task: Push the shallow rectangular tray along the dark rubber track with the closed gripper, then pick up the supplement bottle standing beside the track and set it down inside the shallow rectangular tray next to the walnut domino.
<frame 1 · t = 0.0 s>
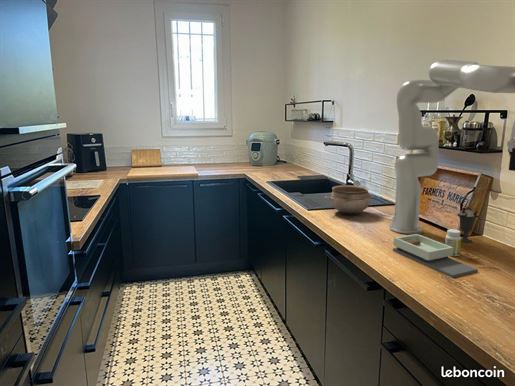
supplement bottle: (451, 254, 132), on the worktop
cooking pot: (349, 213, 186), on the worktop
sundae: (464, 241, 145), on the worktop
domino: (412, 244, 134), point 3 cm above the worktop, touching shallow rectangular tray
track: (432, 260, 126), on the worktop
shallow rectangular tray: (422, 247, 130), point 3 cm above the worktop, slide at 0.0 cm, touching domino
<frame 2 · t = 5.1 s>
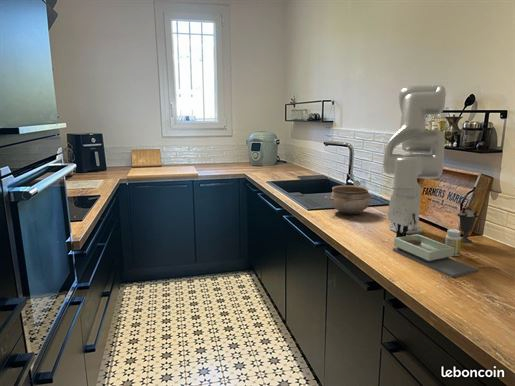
hand: (400, 241, 139), 2 cm above the worktop, tool pointing down, fingers closed
shallow rectangular tray: (422, 248, 130), point 3 cm above the worktop, slide at 0.3 cm, touching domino, gripper
everything else where it was.
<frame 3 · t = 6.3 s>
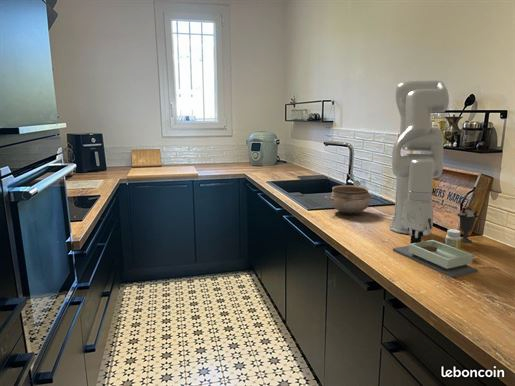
hand: (415, 247, 133), 2 cm above the worktop, tool pointing down, fingers closed
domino: (428, 251, 128), point 3 cm above the worktop, touching shallow rectangular tray
shallow rectangular tray: (439, 254, 123), point 3 cm above the worktop, slide at 7.1 cm, touching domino, gripper
everything else where it was.
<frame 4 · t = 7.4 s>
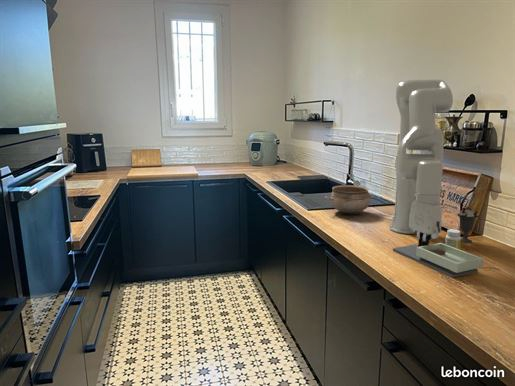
hand: (423, 250, 130), 2 cm above the worktop, tool pointing down, fingers closed
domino: (436, 254, 125), point 3 cm above the worktop, touching shallow rectangular tray
shallow rectangular tray: (448, 258, 120), point 3 cm above the worktop, slide at 10.5 cm, touching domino
everything else where it was.
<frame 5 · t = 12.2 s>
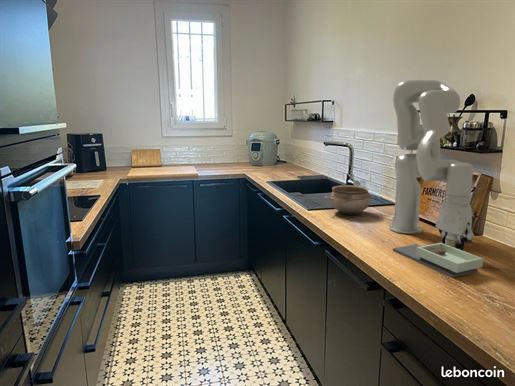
hand: (452, 250, 132), 1 cm above the worktop, tool pointing down, fingers closed on supplement bottle, 4 cm apart
supplement bottle: (451, 254, 132), on the worktop, touching gripper
everything else where it was.
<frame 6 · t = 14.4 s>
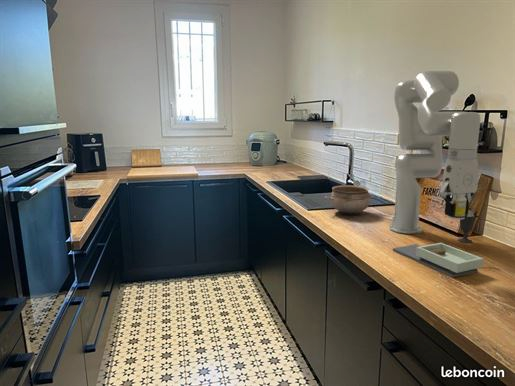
hand: (456, 213, 116), 18 cm above the worktop, tool pointing down, fingers closed on supplement bottle, 4 cm apart
supplement bottle: (455, 218, 117), point 16 cm above the worktop, touching gripper
everything else where it was.
when the fingers open (6 cm above the worktop, at t = 16.9 s): supplement bottle drops 2 cm, resting on shallow rectangular tray.
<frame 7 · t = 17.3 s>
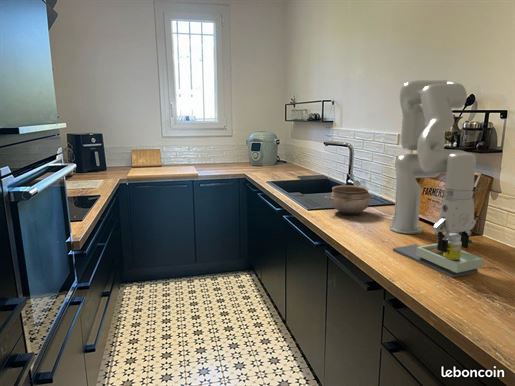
hand: (452, 248, 119), 6 cm above the worktop, tool pointing down, fingers open, 8 cm apart
supplement bottle: (451, 260, 120), point 2 cm above the worktop, touching shallow rectangular tray
shallow rectangular tray: (448, 258, 120), point 3 cm above the worktop, slide at 10.6 cm, touching supplement bottle, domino
everything else where it was.
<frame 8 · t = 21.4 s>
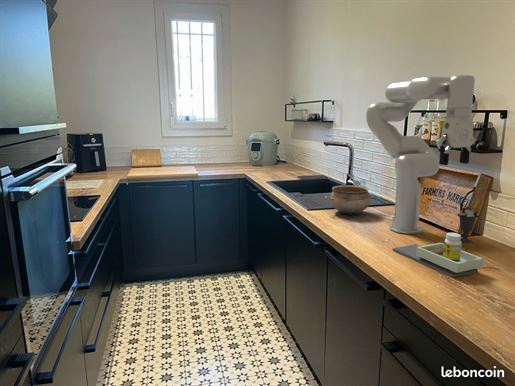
hand: (453, 164, 133), 30 cm above the worktop, tool pointing down, fingers open, 9 cm apart
nothing on the worktop moved.
at the end: shallow rectangular tray slide at 10.5 cm; supplement bottle inside the target area on the shallow rectangular tray (0.9 cm from its centre), point 2.4 cm above the shallow rectangular tray's base; supplement bottle tilted 0° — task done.
